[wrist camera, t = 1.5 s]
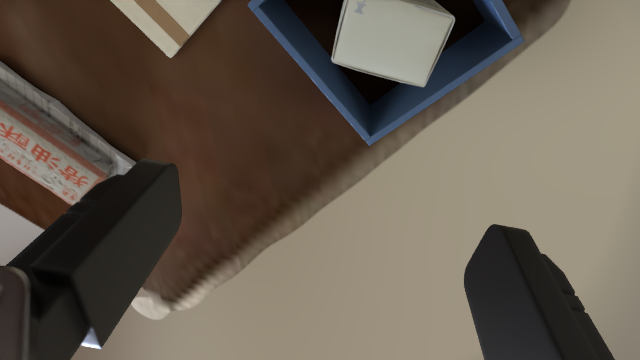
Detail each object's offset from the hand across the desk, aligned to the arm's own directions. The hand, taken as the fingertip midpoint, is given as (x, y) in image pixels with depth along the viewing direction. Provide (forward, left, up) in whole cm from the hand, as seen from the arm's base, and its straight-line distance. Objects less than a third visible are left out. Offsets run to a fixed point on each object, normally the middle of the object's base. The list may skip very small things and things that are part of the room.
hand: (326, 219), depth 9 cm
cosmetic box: (0, +2, -27) cm, 27 cm away
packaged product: (-13, -35, -27) cm, 46 cm away
